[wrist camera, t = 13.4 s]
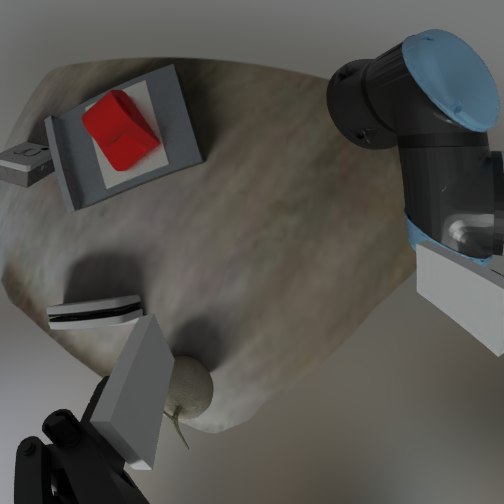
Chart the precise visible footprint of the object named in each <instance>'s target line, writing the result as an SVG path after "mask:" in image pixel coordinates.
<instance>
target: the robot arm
mask: <svg viewBox="0 0 504 504" xmlns="http://www.w3.org/2000/svg"><path fill="white" fill-rule="evenodd" d="M327 105H328V110H329V113H330V115H331V118H332V120H333V122H334V124H335V125H336V127H337V128H338V129H339V131H340V132H341V133H342V134H343V135H344V136H345V137H346V138H347V139H348V140H350V141H351V142H353V143H354V144H356V145H358V146H360V147H363V148H366V149H373V150H377V149H388V148H391V147H394V146H396V145H398V147H399V148H398V149H399V155H400V162H401V169H402V177H403V186H404V198H405V208H404V214H405V218H406V221H407V230H408V239H409V242H410V244H411V246H412V247H413V249H414V250H415V251H416V253H417V292H418V293H419V294H421V295H422V296H423V297H425V298H426V299H428V300H429V301H430V302H431V303H433V304H434V305H435V306H437V307H438V308H439V309H441V310H442V311H443V312H444V313H446V314H447V315H448V316H449V317H451V318H452V319H453V320H455V321H456V322H457V323H458V324H460V325H461V326H462V327H463V328H465V329H466V330H467V331H468V332H470V333H471V334H472V335H473V336H474V337H476V338H477V339H478V340H479V341H480V342H482V343H483V344H484V345H485V346H486V347H488V348H489V349H490V350H491V351H492V352H493V353H494V354H496V355H497V356H498V357H499V356H500V355H502V354H503V353H504V276H503V275H502V276H501V274H499V273H498V272H496V271H494V270H490V269H487V268H486V266H487V265H488V264H489V262H490V260H491V259H492V255H500V256H504V152H503V151H501V152H500V151H490V150H489V144H488V136H487V131H488V130H489V129H491V128H492V127H493V126H494V125H495V124H496V122H497V121H498V113H497V112H499V110H500V103H499V96H498V92H497V88H496V85H495V83H494V80H493V78H492V76H491V74H490V72H489V70H488V68H487V66H486V65H485V63H484V62H483V60H482V59H481V58H480V56H479V55H478V54H477V53H476V52H475V51H474V50H473V49H472V48H471V47H470V46H469V45H468V44H467V43H466V42H465V41H463V40H462V39H461V38H459V37H457V36H456V35H454V34H452V33H449V32H447V31H443V30H439V29H432V30H427V31H424V32H422V33H419V34H417V35H412V36H409V37H407V38H406V39H405V40H404V41H403V42H402V43H400V44H398V45H397V46H395V47H393V48H392V49H390V50H388V51H387V52H385V53H383V54H382V55H380V56H379V57H377V58H376V59H362V60H355V61H352V62H349V63H347V64H345V65H344V66H343V67H341V68H340V69H339V70H337V71H336V73H335V74H334V75H333V76H332V78H331V80H330V82H329V84H328V88H327ZM174 361H175V359H174V357H173V355H172V353H171V351H170V349H169V347H168V344H167V342H166V340H165V338H164V336H163V333H162V331H161V329H160V327H159V324H158V322H157V320H156V317H155V315H154V314H150V315H146V316H141V317H139V319H138V321H137V323H136V325H135V327H134V329H133V330H132V332H131V334H130V336H129V338H128V340H127V342H126V344H125V346H124V348H123V350H122V352H121V354H120V356H119V358H118V360H117V362H116V364H115V367H114V369H113V371H112V373H111V375H110V376H105V377H104V378H103V379H102V380H101V382H100V383H99V384H98V385H97V387H96V389H95V391H94V395H93V396H92V397H91V399H90V403H88V406H87V408H86V410H85V412H84V414H83V416H82V419H81V421H80V422H79V421H78V420H77V419H76V418H75V416H74V415H73V414H72V412H71V411H70V410H67V409H59V410H57V411H54V412H53V413H51V414H50V415H49V416H48V417H47V418H46V419H45V421H44V423H43V425H42V431H43V432H44V433H45V435H46V436H47V437H48V438H49V439H50V440H51V441H52V442H53V444H48V445H45V444H44V443H43V442H42V441H41V440H40V439H39V438H38V437H35V436H30V437H28V438H26V439H24V440H22V442H21V443H20V445H19V446H18V449H17V453H16V463H15V464H16V465H15V480H14V504H150V503H149V502H148V501H147V499H146V498H145V497H144V495H143V494H142V493H141V491H140V490H139V489H138V487H137V486H136V485H135V483H134V482H133V480H132V479H131V477H130V476H129V474H128V473H127V472H126V471H125V470H124V469H123V468H124V464H125V461H126V462H127V463H128V464H129V465H130V466H131V467H132V468H133V469H136V470H153V464H154V459H155V453H156V448H157V442H158V437H159V432H160V426H161V421H162V416H163V411H164V407H165V402H166V397H167V392H168V388H169V383H170V378H171V374H172V370H173V365H174ZM52 489H53V490H54V496H53V493H52Z"/></svg>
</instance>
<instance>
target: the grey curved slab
mask: <svg viewBox="0 0 504 504" xmlns="http://www.w3.org/2000/svg"><path fill="white" fill-rule="evenodd" d="M140 301H141V300H140V297H139V295H138V294H137V295H130V296H122V297H114V298H107V299H99V300H91V301H82V302H74V303H65V304H59V305H54V306H49V307H47V314H48V315H49V317H55V318H52V319H49V320H50V322H49V325H50V328H51V329H81V328H92V327H102V326H113V325H124V324H134V323H137V321H138V319H139V317H141V316H143V310H142V309H140V307H134V308H129V309H128V307H131V306H134V305H138V304H139V302H140ZM107 311H108V312H107ZM100 312H107V313H106V314H99V315H93V314H91V313H100ZM72 315H74V316H72ZM58 316H59V317H58Z"/></svg>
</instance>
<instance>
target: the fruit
mask: <svg viewBox="0 0 504 504" xmlns="http://www.w3.org/2000/svg"><path fill="white" fill-rule="evenodd" d="M174 359H175V361H174V365H173V370H172V374H171V378H170V383H169V388H168V392H167V397H166V402H165V407H164V411H163V413H164V414H165V415H166V416H168V417H169V418H170V419H171V420H172V422H173V423H174V426H175V429H176V431H177V433H178V434H179V436H180V438H181V439H182V441H183V442H184V444H185V446H186V447H187V449H189V448H188V446H187V443H186V441H185V440H184V438H183V436H182V434H181V432H180V430H179V426H178V419H179V420H186V419H191V418H196V417H198V416H199V415H201V414H202V413H203V412H204V411H205V410H206V409H207V408H208V407H209V405H210V404H211V401H212V397H213V382H212V378H211V376H210V374H209V372H208V370H207V369H206V367H205V366H204V365H203V364H202V363H200V362H199V361H198V360H196V359H194V358H192V357H189V356H182V355H181V356H175V357H174Z"/></svg>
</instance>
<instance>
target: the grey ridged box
mask: <svg viewBox="0 0 504 504" xmlns="http://www.w3.org/2000/svg"><path fill="white" fill-rule="evenodd" d="M111 90H123V91H124V92H125V93H126V94H127V95H128V97H129V98H130V99H131V101H132V102H133V104H134V105H135V106H136V107H137V109H138V110H139V111H140V113H141V114H142V116H143V117H144V119H145V120H146V122H147V123H148V124H149V126H150V127H151V129H152V130H153V133H154V134H155V136H156V137H157V139H158V140H159V141H160V143H161V144H160V145H159V146H157V147H156V148H155V149H153V150H152V151H151V152H149V153H148V154H147V155H146V156H144V157H143V158H142V159H141V160H139V161H138V162H137V163H136V164H134V165H133V166H132V167H131V168H129V169H128V170H126V171H116V170H115V169H114V168H113V167H112V166H111V164H110V163H109V161H108V160H107V158H106V157H105V155H104V153H103V152H102V150H101V149H100V147H99V146H98V144H97V143H96V141H95V139H94V138H93V137H92V136H91V135H90V134H89V132H88V131H87V130H86V128H85V126H84V124H83V122H82V115H83V114H84V113H85V112H86V111H87V110H89V109H90V108H91V107H92V106H93V105H94V104H95V103H96V102H98V101H99V100H100V99H101V98H102V97H103V96H105V95H106V94H107V93H108V92H109V91H111ZM44 121H45V126H46V132H47V137H48V141H49V146H50V151H51V155H52V159H53V163H54V167H55V171H56V175H57V179H58V182H59V186H60V189H61V193H62V196H63V199H64V203H65V206H66V209H67V212H68V214H69V213H72V212H74V211H77V210H80V209H83V208H86V207H89V206H92V205H94V204H97V203H99V202H101V201H104V200H106V199H108V198H111V197H113V196H115V195H118V194H120V193H122V192H125V191H127V190H130V189H132V188H135V187H137V186H140V185H143V184H145V183H148V182H150V181H153V180H156V179H158V178H161V177H164V176H167V175H169V174H172V173H175V172H178V171H181V170H184V169H187V168H190V167H193V166H196V165H199V164H202V163H205V160H204V156H203V153H202V150H201V146H200V143H199V140H198V137H197V133H196V130H195V127H194V123H193V120H192V116H191V113H190V110H189V106H188V103H187V99H186V96H185V93H184V89H183V86H182V82H181V79H180V76H179V74H178V72H177V70H176V68H175V66H174V64H171V65H168V66H166V67H163V68H160V69H157V70H155V71H152V72H149V73H147V74H144V75H142V76H139V77H137V78H134V79H132V80H130V81H127V82H125V83H123V84H121V85H118V86H116V87H114V88H112V89H110V90H108V91H106V92H104V93H101V94H99V95H97V96H95V97H94V98H92V99H90V100H88V101H86V102H84V103H82V104H80V105H78V106H77V107H75V108H73V109H71V110H70V111H68V112H66V113H64V114H63V115H61V116H59V117H54V116H49V117H48V118H46V119H45V120H44ZM118 139H119V138H118ZM118 139H117V140H118ZM117 140H115V141H117Z"/></svg>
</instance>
